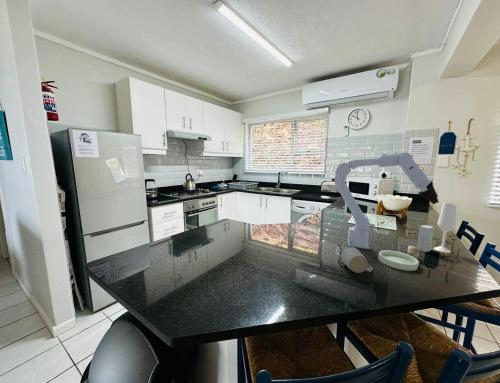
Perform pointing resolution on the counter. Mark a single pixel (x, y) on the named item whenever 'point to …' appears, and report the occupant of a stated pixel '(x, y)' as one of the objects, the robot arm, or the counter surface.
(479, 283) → the counter surface
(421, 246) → the skincare box
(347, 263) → the ceramic mug
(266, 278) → the counter surface
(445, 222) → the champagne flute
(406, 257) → the round tray
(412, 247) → the maple cylinder
